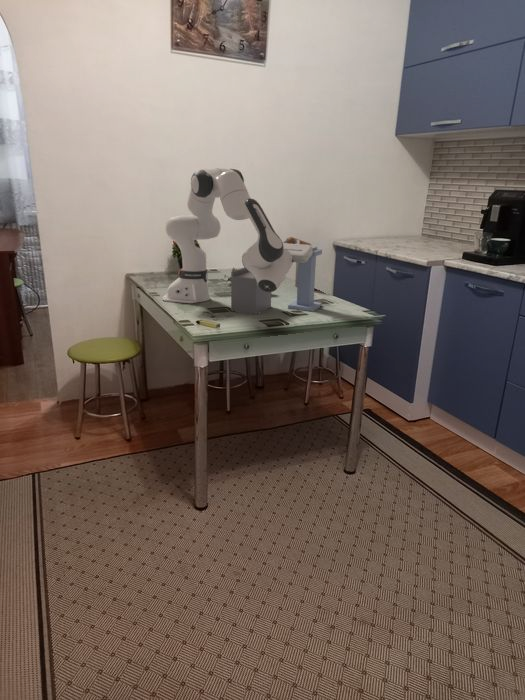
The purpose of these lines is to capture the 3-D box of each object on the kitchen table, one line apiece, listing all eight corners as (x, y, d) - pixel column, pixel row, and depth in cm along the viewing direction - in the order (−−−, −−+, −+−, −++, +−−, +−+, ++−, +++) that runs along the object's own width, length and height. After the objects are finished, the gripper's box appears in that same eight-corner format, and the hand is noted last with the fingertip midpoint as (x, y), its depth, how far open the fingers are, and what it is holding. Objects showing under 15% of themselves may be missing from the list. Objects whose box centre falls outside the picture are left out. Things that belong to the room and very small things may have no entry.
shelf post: (313, 311, 224) (316, 250, 215) (287, 308, 229) (290, 248, 220) (321, 305, 234) (325, 247, 226) (297, 302, 239) (299, 245, 230)
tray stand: (255, 314, 217) (256, 274, 212) (231, 311, 222) (231, 271, 216) (270, 306, 231) (271, 268, 225) (247, 303, 236) (247, 266, 230)
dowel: (293, 244, 202) (294, 237, 202) (286, 244, 204) (287, 236, 203) (311, 250, 222) (311, 243, 222) (304, 249, 224) (305, 242, 223)
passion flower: (243, 294, 278) (251, 279, 270) (225, 292, 273) (233, 277, 264) (238, 280, 284) (246, 264, 276) (220, 278, 279) (228, 262, 271)
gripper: (305, 256, 191) (316, 234, 199) (256, 252, 199) (269, 231, 207) (307, 269, 195) (318, 247, 204) (259, 265, 203) (272, 244, 212)
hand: (293, 239), depth 205 cm, fingers closed on dowel, 3 cm apart
